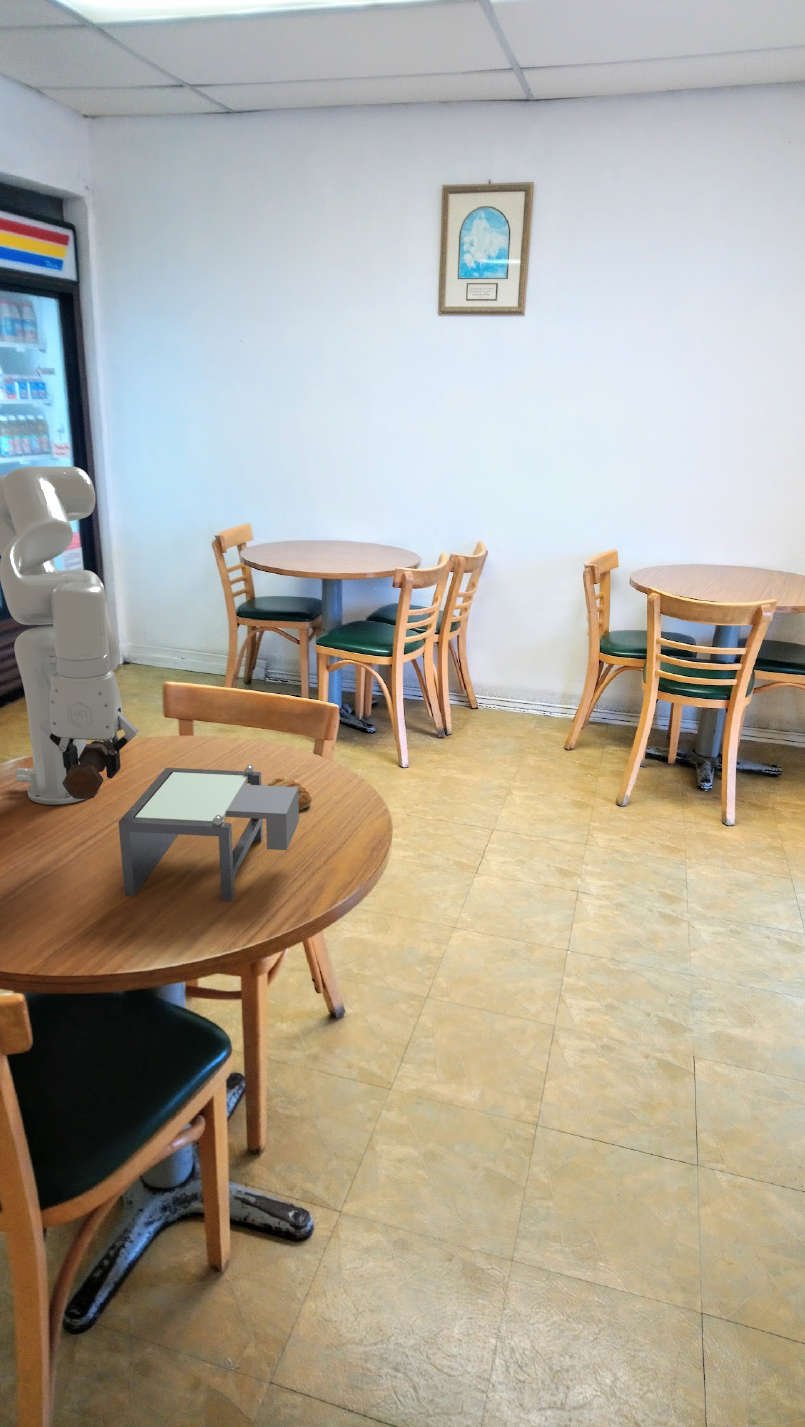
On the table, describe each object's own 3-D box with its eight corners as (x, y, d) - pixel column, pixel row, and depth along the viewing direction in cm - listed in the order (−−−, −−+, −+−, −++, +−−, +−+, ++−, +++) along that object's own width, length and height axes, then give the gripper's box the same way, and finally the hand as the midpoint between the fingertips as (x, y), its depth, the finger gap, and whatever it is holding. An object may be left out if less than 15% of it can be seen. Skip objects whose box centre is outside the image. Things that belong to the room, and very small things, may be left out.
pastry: (320, 805, 161) (320, 786, 159) (293, 816, 156) (292, 797, 155) (287, 791, 167) (286, 772, 165) (259, 801, 162) (259, 782, 161)
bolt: (105, 769, 145) (88, 806, 131) (77, 755, 144) (57, 792, 130) (121, 740, 144) (106, 775, 130) (93, 726, 142) (74, 760, 128)
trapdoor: (138, 854, 128) (135, 817, 126) (175, 805, 144) (173, 772, 142) (281, 861, 126) (281, 824, 125) (302, 812, 143) (302, 778, 141)
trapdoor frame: (124, 895, 128) (117, 814, 124) (170, 832, 148) (165, 760, 144) (231, 901, 127) (228, 819, 123) (263, 837, 147) (260, 765, 143)
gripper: (16, 668, 129) (28, 779, 135) (130, 676, 128) (137, 787, 134) (39, 654, 136) (50, 760, 142) (147, 661, 135) (154, 767, 141)
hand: (92, 772), depth 138 cm, fingers closed on bolt, 5 cm apart
